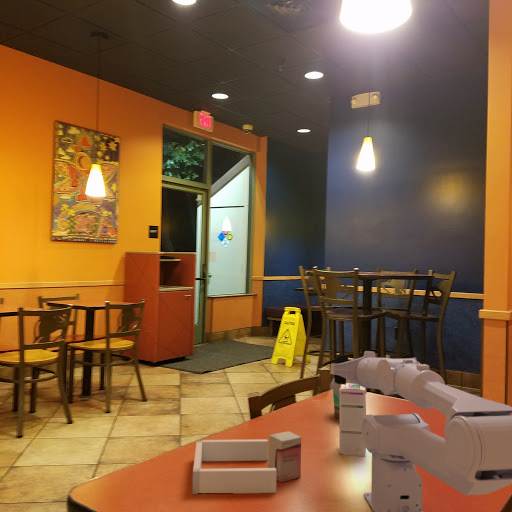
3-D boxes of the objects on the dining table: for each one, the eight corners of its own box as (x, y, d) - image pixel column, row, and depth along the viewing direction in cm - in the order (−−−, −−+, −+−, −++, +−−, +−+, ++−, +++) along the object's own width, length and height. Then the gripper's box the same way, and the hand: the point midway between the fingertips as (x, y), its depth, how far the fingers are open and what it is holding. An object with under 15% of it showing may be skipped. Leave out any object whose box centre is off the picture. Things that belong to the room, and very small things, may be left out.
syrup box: (366, 457, 109) (366, 389, 109) (338, 454, 110) (339, 387, 110) (365, 447, 115) (366, 383, 115) (339, 445, 116) (340, 382, 116)
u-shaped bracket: (276, 492, 91) (276, 470, 91) (192, 494, 90) (192, 471, 90) (267, 458, 107) (267, 439, 107) (196, 459, 106) (196, 439, 106)
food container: (321, 413, 141) (321, 377, 141) (339, 411, 144) (340, 376, 144) (347, 426, 130) (347, 387, 130) (366, 424, 132) (367, 385, 133)
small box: (280, 483, 95) (281, 441, 95) (267, 475, 99) (268, 434, 99) (301, 477, 98) (302, 436, 98) (288, 469, 101) (288, 430, 102)
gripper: (415, 354, 95) (385, 354, 109) (342, 347, 93) (320, 348, 106) (414, 393, 94) (384, 387, 107) (340, 387, 92) (318, 382, 105)
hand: (352, 370), depth 107 cm, fingers open, 7 cm apart
